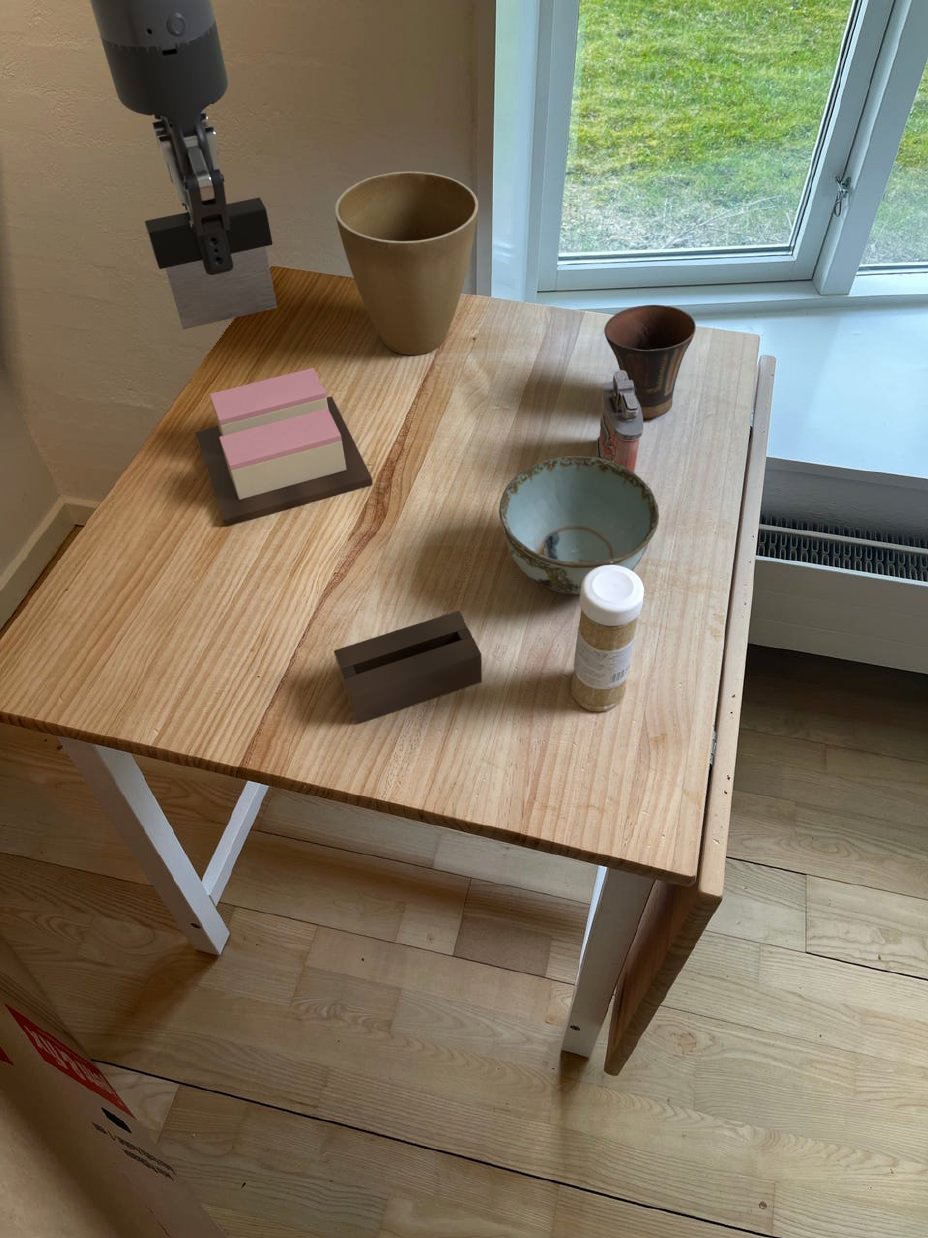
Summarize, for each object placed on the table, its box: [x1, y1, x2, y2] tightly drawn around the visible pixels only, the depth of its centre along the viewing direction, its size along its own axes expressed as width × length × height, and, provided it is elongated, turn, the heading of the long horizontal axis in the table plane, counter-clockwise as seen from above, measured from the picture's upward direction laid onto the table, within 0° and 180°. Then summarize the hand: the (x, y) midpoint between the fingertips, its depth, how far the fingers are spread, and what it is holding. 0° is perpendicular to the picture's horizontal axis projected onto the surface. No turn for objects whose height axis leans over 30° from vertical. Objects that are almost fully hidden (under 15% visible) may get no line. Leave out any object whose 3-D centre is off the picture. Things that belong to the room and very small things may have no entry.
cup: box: [603, 304, 697, 419], centre depth 98 cm, size 9×9×10 cm
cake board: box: [194, 395, 373, 527], centre depth 97 cm, size 15×14×1 cm
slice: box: [209, 367, 328, 436], centre depth 98 cm, size 11×4×4 cm, turn 112°
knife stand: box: [333, 610, 483, 725], centre depth 78 cm, size 11×5×4 cm, turn 112°
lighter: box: [595, 369, 644, 474], centre depth 92 cm, size 8×3×10 cm, turn 6°
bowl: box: [498, 455, 660, 595], centre depth 84 cm, size 14×13×8 cm
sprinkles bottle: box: [570, 565, 645, 712], centre depth 74 cm, size 5×5×13 cm
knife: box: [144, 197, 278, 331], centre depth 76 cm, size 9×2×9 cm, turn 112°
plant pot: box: [334, 171, 479, 356], centre depth 104 cm, size 15×15×16 cm
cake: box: [219, 408, 346, 500], centre depth 93 cm, size 11×4×4 cm, turn 112°
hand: (216, 261), depth 75 cm, fingers closed on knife, 2 cm apart
